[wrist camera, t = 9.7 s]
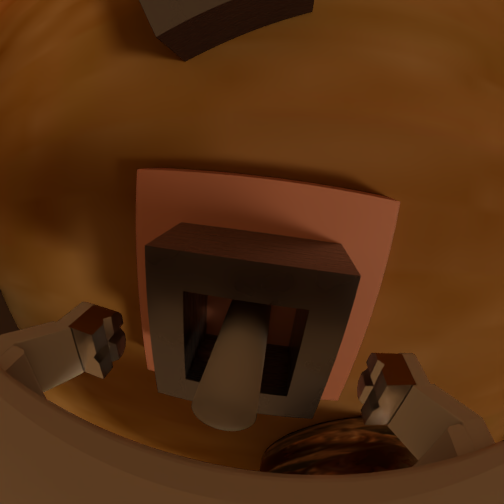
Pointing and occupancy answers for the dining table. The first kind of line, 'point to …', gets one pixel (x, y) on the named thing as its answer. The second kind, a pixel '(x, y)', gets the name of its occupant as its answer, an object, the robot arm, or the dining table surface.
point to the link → (251, 290)
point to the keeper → (255, 314)
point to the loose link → (214, 20)
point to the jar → (338, 450)
